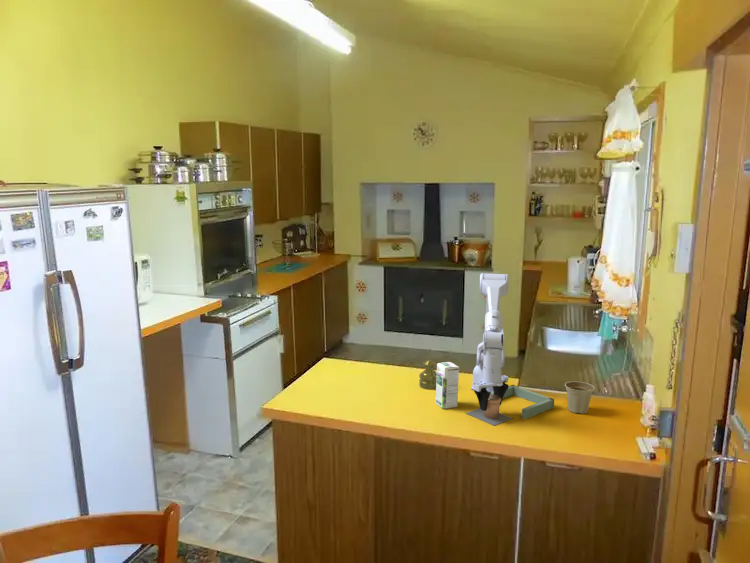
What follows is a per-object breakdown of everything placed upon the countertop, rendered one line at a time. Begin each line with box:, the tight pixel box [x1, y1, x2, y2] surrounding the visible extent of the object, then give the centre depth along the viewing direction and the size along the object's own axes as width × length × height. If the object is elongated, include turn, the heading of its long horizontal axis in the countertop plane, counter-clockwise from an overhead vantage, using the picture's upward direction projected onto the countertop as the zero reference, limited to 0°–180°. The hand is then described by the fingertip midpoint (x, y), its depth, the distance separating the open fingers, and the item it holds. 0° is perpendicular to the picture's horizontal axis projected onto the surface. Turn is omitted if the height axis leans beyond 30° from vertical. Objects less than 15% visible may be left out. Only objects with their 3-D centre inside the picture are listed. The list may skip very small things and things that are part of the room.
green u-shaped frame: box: [490, 384, 555, 420], centre depth 194 cm, size 18×16×3 cm
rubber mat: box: [465, 407, 513, 427], centre depth 185 cm, size 12×9×1 cm
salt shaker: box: [418, 359, 437, 390], centre depth 211 cm, size 7×7×10 cm
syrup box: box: [435, 361, 460, 410], centre depth 192 cm, size 6×6×14 cm
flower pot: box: [564, 380, 596, 415], centre depth 189 cm, size 9×9×9 cm
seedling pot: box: [484, 395, 502, 418], centre depth 185 cm, size 6×6×6 cm
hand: (490, 407), depth 185 cm, fingers open, 6 cm apart
